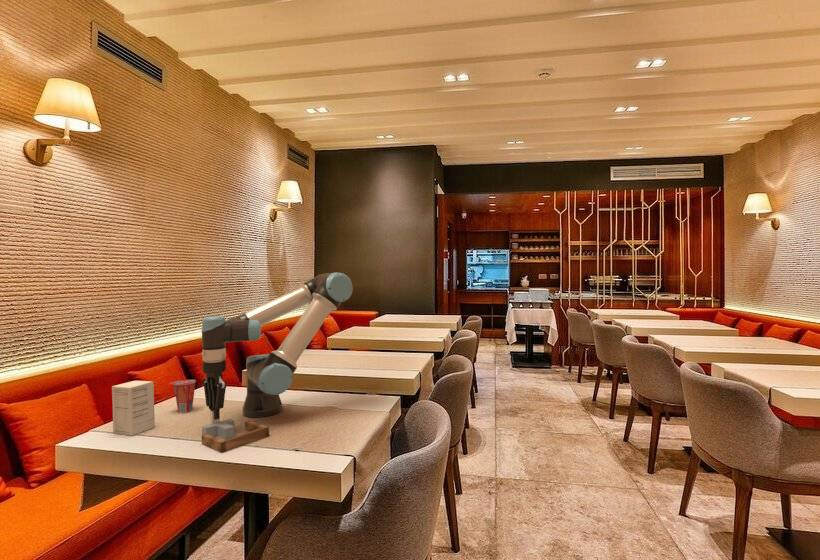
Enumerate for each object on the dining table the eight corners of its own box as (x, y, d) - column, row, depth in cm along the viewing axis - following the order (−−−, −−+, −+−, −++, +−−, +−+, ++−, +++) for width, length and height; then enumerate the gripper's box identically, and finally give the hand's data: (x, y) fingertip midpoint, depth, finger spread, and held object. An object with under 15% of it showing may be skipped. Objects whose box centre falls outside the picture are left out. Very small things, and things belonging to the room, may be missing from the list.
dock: (201, 444, 138) (201, 434, 138) (249, 428, 151) (249, 420, 151) (221, 452, 130) (221, 443, 130) (269, 435, 144) (269, 427, 144)
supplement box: (155, 427, 155) (154, 381, 155) (131, 436, 146) (130, 387, 146) (136, 424, 158) (135, 379, 158) (112, 433, 149) (111, 385, 149)
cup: (192, 406, 180) (192, 378, 180) (199, 410, 174) (199, 381, 174) (168, 411, 173) (167, 382, 173) (174, 416, 167) (173, 385, 167)
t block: (202, 436, 144) (201, 426, 144) (230, 428, 152) (229, 418, 152) (215, 442, 139) (215, 431, 139) (243, 433, 147) (243, 423, 147)
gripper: (194, 360, 150) (195, 426, 150) (212, 364, 142) (213, 434, 142) (215, 357, 156) (216, 421, 156) (234, 360, 148) (234, 428, 148)
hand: (215, 427), depth 149 cm, fingers closed
